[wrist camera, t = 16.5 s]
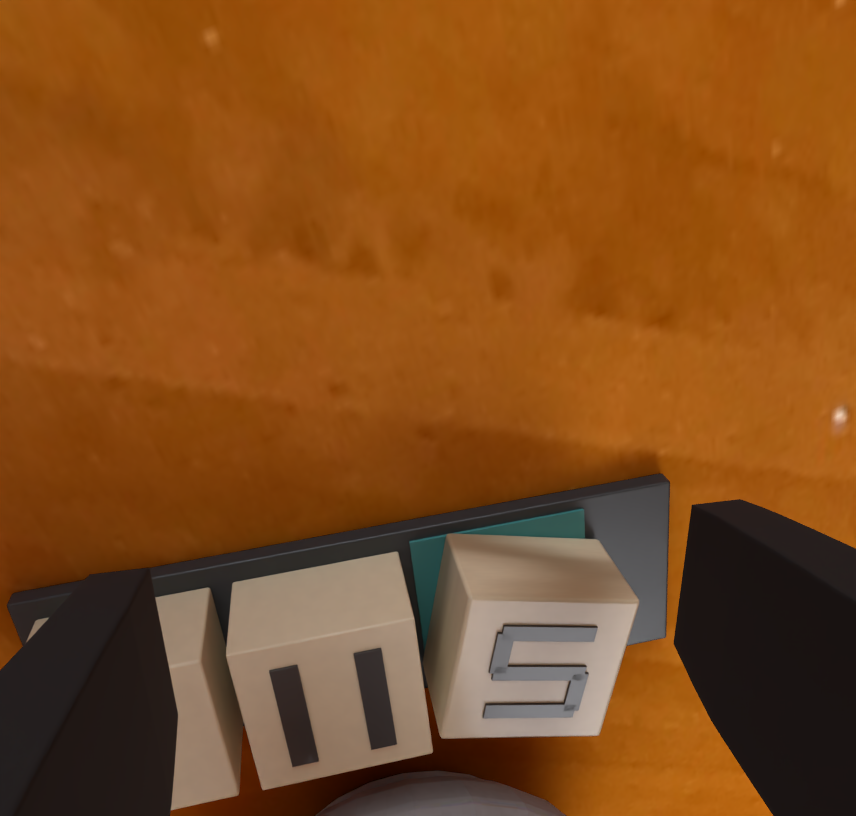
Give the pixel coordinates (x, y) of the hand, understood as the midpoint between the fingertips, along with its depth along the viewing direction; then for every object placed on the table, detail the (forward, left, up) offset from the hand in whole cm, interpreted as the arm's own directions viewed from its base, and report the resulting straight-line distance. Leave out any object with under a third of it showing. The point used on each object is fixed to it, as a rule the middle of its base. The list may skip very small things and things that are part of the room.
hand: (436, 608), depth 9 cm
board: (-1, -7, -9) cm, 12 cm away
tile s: (+3, -7, -9) cm, 12 cm away
